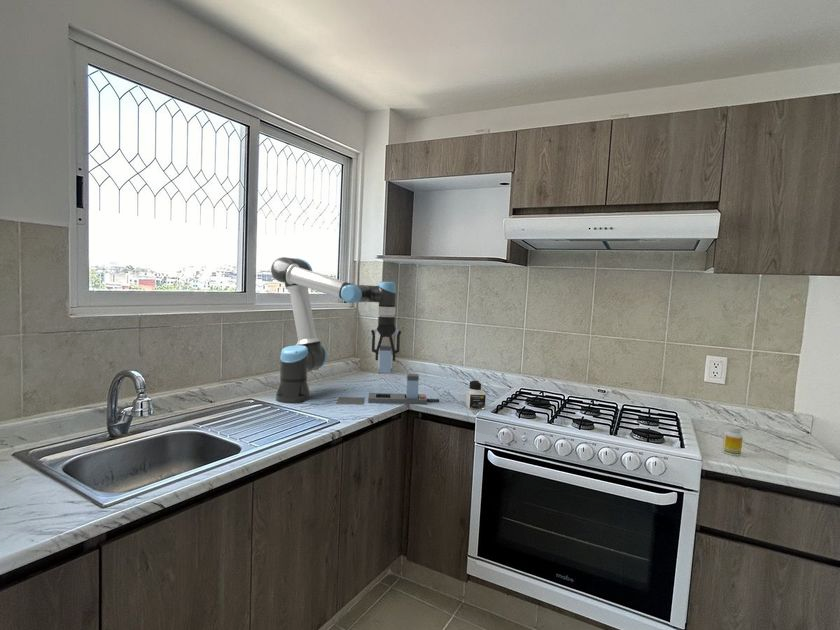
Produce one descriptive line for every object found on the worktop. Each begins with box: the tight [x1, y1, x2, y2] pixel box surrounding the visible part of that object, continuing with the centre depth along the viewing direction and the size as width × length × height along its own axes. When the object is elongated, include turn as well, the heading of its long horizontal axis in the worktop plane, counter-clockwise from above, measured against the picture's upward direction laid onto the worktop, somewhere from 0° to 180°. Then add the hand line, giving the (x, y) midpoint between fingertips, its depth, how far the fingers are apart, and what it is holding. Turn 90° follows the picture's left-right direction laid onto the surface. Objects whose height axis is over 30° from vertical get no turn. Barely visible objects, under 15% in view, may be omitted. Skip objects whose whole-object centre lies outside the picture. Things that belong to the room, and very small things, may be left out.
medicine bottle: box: [465, 380, 487, 410], centre depth 201 cm, size 7×7×12 cm
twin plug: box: [405, 373, 420, 399], centre depth 203 cm, size 5×5×12 cm
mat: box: [335, 396, 366, 406], centre depth 202 cm, size 12×12×1 cm
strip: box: [367, 392, 440, 406], centre depth 203 cm, size 32×10×4 cm, turn 94°
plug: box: [378, 344, 392, 374], centre depth 201 cm, size 5×5×12 cm
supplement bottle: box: [722, 424, 744, 457], centre depth 157 cm, size 5×5×10 cm
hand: (385, 367), depth 201 cm, fingers closed on plug, 5 cm apart
